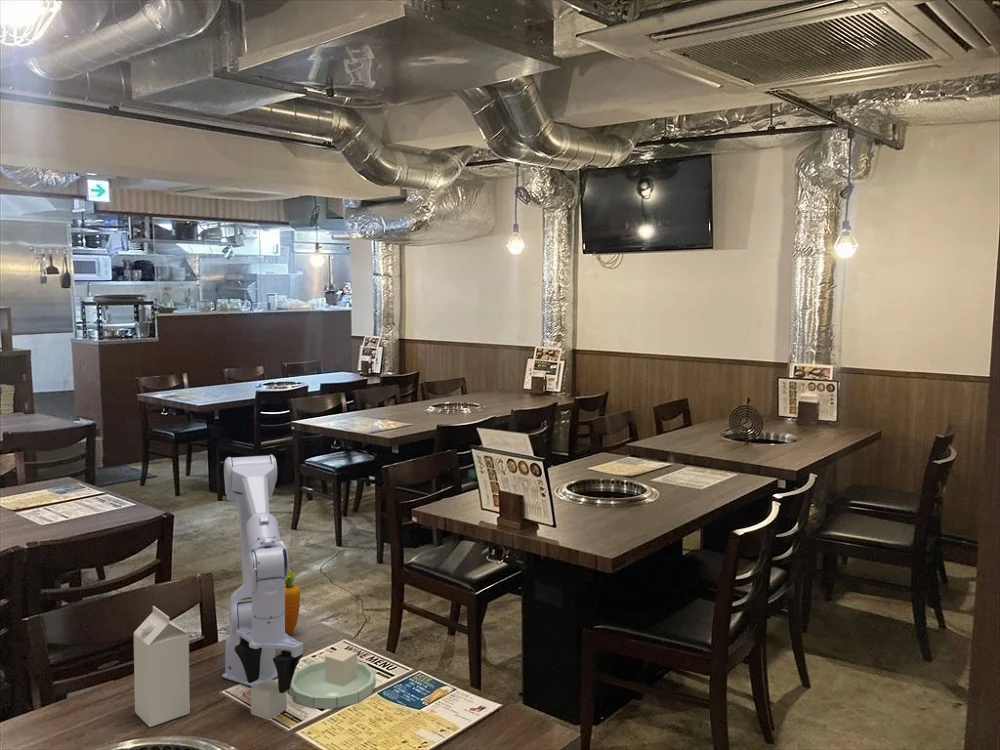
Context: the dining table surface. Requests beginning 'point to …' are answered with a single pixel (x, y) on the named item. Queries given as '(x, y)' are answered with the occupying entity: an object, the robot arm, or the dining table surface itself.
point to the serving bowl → (330, 687)
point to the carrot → (291, 603)
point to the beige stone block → (341, 667)
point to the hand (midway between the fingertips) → (268, 685)
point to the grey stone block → (267, 699)
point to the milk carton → (161, 670)
